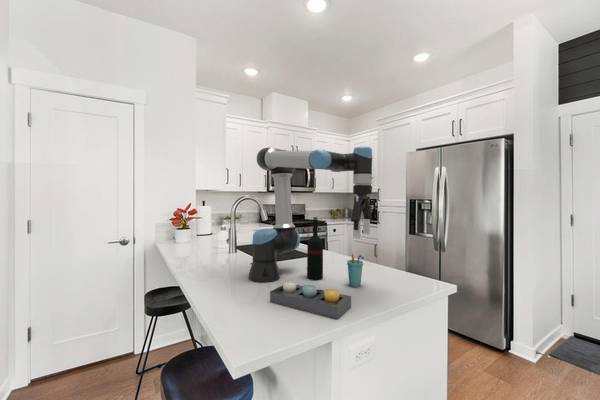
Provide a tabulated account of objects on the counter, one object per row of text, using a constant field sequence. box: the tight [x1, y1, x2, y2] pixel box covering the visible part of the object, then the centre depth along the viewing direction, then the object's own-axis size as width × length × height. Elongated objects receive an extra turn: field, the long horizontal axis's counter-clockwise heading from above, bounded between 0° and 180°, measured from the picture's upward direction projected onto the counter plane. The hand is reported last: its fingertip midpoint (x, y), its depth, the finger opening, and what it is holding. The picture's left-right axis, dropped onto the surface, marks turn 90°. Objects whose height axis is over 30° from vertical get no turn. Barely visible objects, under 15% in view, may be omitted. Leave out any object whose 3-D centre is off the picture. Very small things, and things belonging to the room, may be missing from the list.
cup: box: [346, 252, 365, 288], centre depth 126 cm, size 14×8×15 cm, turn 14°
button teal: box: [302, 284, 318, 298], centre depth 104 cm, size 5×5×4 cm
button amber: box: [323, 288, 340, 303], centre depth 100 cm, size 5×5×4 cm
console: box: [269, 284, 352, 320], centre depth 104 cm, size 28×12×4 cm, turn 59°
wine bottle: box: [306, 216, 324, 281], centre depth 138 cm, size 8×10×30 cm
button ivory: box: [282, 280, 297, 293], centre depth 109 cm, size 5×5×4 cm
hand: (361, 236), depth 115 cm, fingers open, 13 cm apart
